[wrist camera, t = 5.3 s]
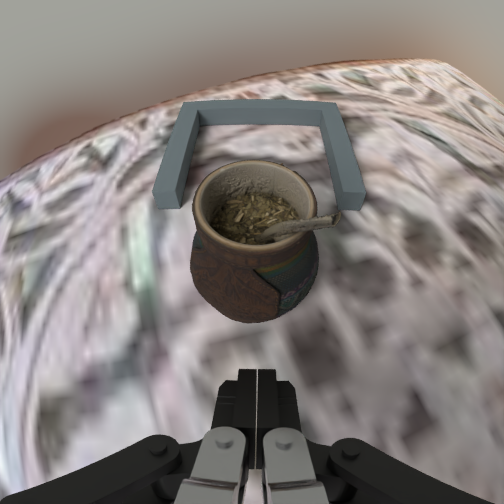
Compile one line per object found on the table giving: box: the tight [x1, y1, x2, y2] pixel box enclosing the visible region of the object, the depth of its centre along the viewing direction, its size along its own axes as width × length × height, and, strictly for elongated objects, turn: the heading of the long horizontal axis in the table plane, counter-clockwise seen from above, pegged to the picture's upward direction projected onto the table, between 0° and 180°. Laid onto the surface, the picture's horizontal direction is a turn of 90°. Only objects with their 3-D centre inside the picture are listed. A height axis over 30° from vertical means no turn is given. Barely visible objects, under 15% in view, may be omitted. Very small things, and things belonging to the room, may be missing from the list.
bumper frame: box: [152, 99, 366, 210], centre depth 26 cm, size 16×13×2 cm
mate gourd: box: [190, 160, 341, 323], centre depth 16 cm, size 7×8×10 cm
